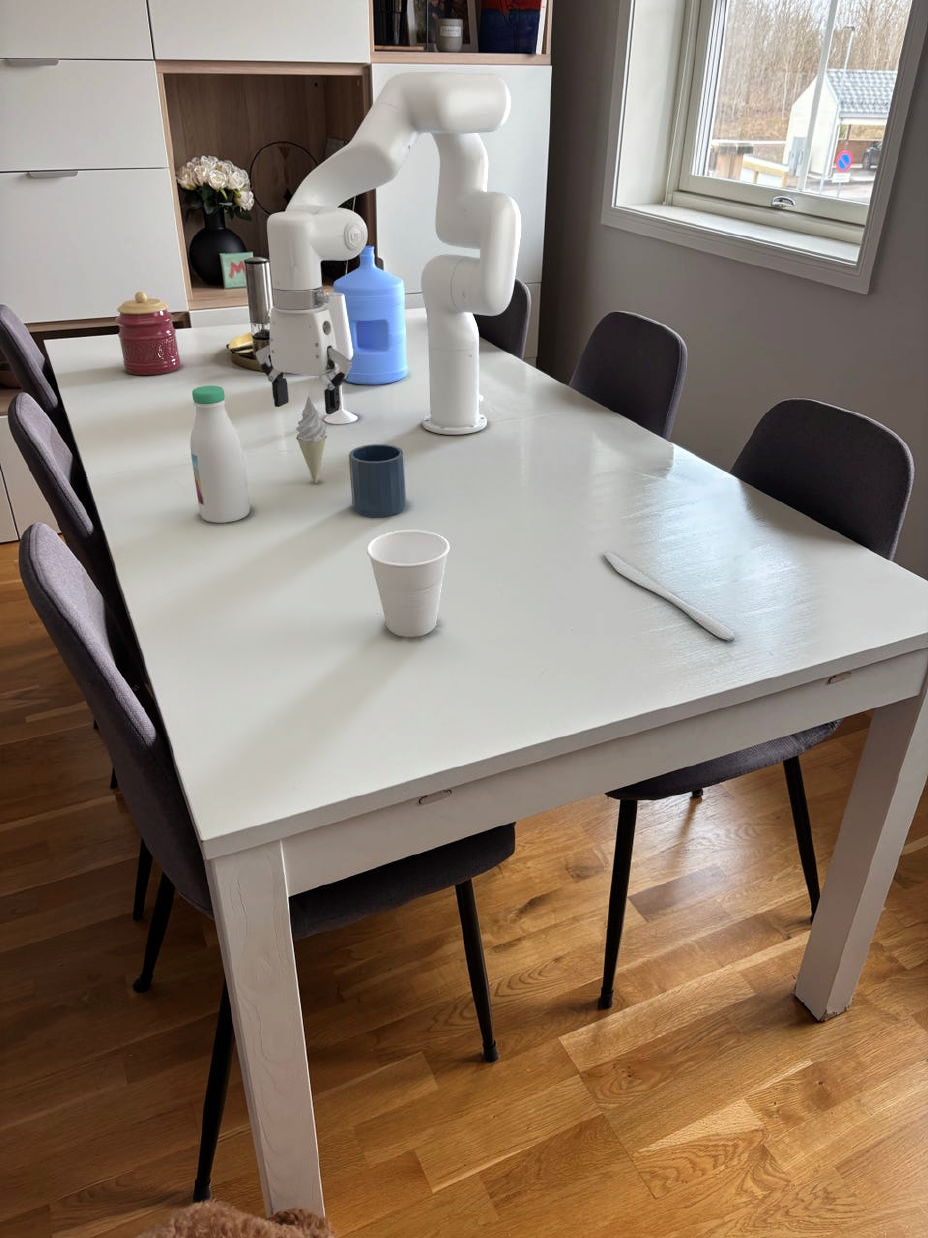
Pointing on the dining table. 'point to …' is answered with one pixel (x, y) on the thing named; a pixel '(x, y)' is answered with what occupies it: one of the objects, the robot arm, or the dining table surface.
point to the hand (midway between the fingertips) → (307, 408)
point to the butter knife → (670, 597)
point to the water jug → (374, 322)
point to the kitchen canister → (147, 336)
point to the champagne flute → (340, 348)
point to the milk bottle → (217, 459)
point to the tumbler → (377, 480)
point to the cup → (409, 578)
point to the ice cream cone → (312, 438)
